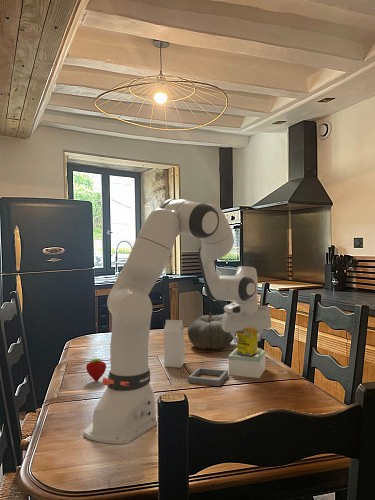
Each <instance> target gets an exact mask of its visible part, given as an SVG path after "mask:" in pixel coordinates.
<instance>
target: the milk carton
mask: <svg viewBox="0 0 375 500" xmlns="http://www.w3.org/2000/svg"><path fill="white" fill-rule="evenodd" d="M163 348H164V349H163V350H164V351H163V353H164V354H163V355H164V356H163V357H164V358H163V359H164V362H163V363H164V364H163V365H164V367H165V368H182V367H183V365H184V364H185V359H186V358H185V326H184V324H183V320H182V319H180V320H179V319H178V320H177V319H165V325H164V328H163Z"/></svg>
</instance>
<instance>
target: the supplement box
mask: <svg viewBox="0 0 375 500" xmlns="http://www.w3.org/2000/svg"><path fill="white" fill-rule="evenodd" d="M257 334H258V330H255V328H248V329H243V331H237V334H236V337H237V338H239V340H238V341H239V343H236V348H237V355H238V356H247V357H253V356H255V355H257V350H258V341H257Z"/></svg>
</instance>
